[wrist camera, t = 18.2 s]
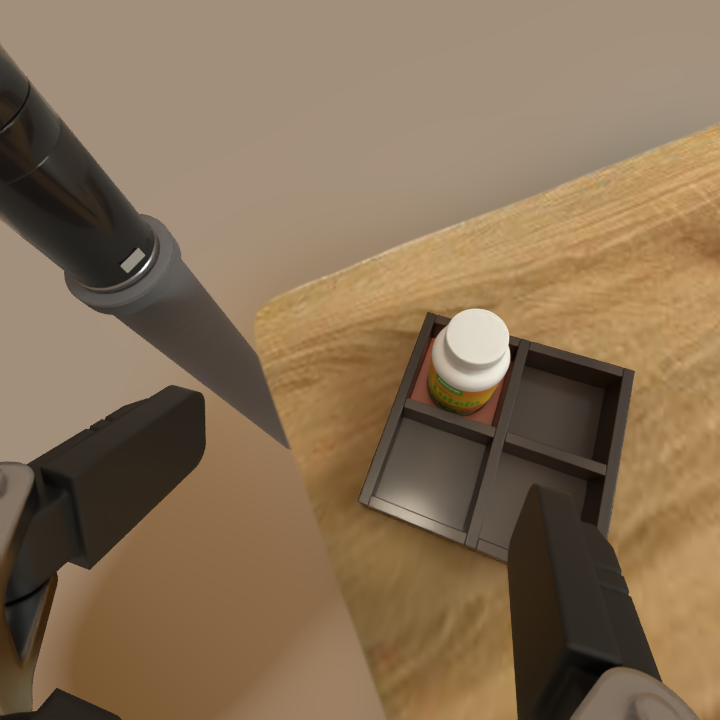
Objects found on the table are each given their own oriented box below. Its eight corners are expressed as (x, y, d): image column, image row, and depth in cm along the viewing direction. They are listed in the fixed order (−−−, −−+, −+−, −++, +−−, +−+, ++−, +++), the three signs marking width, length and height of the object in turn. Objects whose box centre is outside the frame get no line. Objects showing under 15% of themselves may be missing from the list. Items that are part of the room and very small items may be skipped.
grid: (361, 505, 33) (357, 501, 30) (425, 330, 39) (427, 311, 35) (576, 592, 30) (597, 599, 26) (613, 386, 35) (635, 370, 32)
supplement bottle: (420, 407, 35) (425, 363, 26) (434, 350, 37) (444, 291, 28) (485, 424, 34) (514, 383, 25) (496, 364, 36) (527, 308, 27)
